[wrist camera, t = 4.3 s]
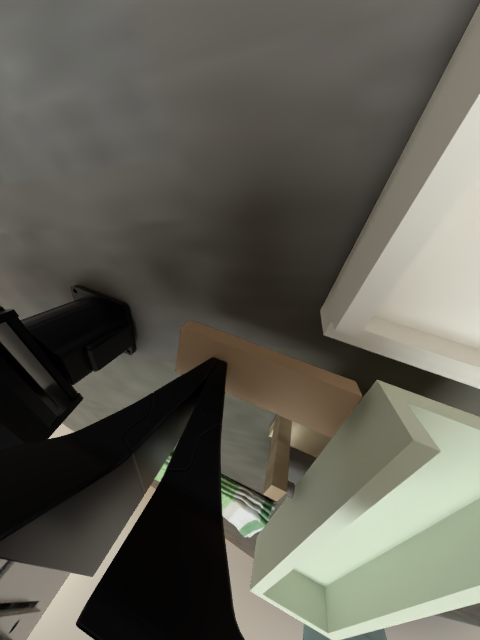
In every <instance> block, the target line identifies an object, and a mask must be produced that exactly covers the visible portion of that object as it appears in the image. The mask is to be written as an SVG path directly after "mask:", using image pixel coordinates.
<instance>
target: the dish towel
mask: <svg viewBox="0 0 480 640" xmlns="http://www.w3.org/2000/svg"><path fill="white" fill-rule="evenodd" d="M174 451H175V450H174V449H173V450H172V452H171V454H170V455H169V457H168V458H167V460H166V462H165V463H164V465H163V466H162V468H161V469H160V471H159V473H158V474H157V476H156V477H155V480H158V481H159V482H160V481H161V479H162V477H163V475H164V473H165V471H166V468H167V466H168V464H169V462H170V459H171V457H172V455H173V453H174ZM221 491H222V515H223V517H225V518H226V519H227V520H228V521H229V522H231V523H232V524H233V525H235V526H236V527H237V529H238V530H239V532H240V533H241V534H242V535H243V536H244V537H247V536H248V537H251V536H252V535H254V534H255V533H257V532H259V531H261V530H262V529H263V528H264V527H265V525H266V524H267V523H268V522H269V516H270V514H272V510H275V506H274V504H275V503H274V502H272V501H270V500H268V499H266V498H264V497H262V496H261V495H259V494H257V493H255V492H254V491H252V490H250V489H248V488H246V487H244V486H242V485H240V484H239V483H237V482H235V481H233V480H231V479H229V478H227V477H225V476H223V475H221Z"/></svg>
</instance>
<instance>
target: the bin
mask: <svg viewBox="0 0 480 640" xmlns="http://www.w3.org/2000/svg"><path fill="white" fill-rule="evenodd" d="M320 314H321V321H322V328H323V335H324V336H327V337H330V338H333V339H336V340H339V341H342V342H345V343H348V344H351V345H354V346H356V347H359V348H362V349H365V350H368V351H371V352H374V353H377V354H380V355H383V356H385V357H388V358H391V359H394V360H397V361H400V362H403V363H406V364H409V365H412V366H414V367H417V368H420V369H423V370H426V371H429V372H432V373H435V374H438V375H441V376H444V377H446V378H449V379H452V380H455V381H458V382H461V383H464V384H467V385H470V386H473V387H475V388H478V389H480V4H479V6H478V7H477V9H476V11H475V13H474V15H473V17H472V19H471V21H470V23H469V25H468V27H467V29H466V31H465V33H464V34H463V36H462V38H461V40H460V42H459V44H458V46H457V48H456V50H455V52H454V54H453V56H452V58H451V59H450V61H449V63H448V65H447V67H446V69H445V71H444V73H443V75H442V77H441V79H440V81H439V83H438V85H437V86H436V88H435V90H434V92H433V94H432V96H431V98H430V100H429V102H428V104H427V106H426V108H425V110H424V111H423V113H422V115H421V117H420V119H419V121H418V123H417V125H416V127H415V129H414V131H413V133H412V135H411V137H410V138H409V140H408V142H407V144H406V146H405V148H404V150H403V152H402V154H401V156H400V158H399V160H398V162H397V163H396V165H395V167H394V169H393V171H392V173H391V175H390V177H389V179H388V181H387V183H386V185H385V187H384V189H383V190H382V192H381V194H380V196H379V198H378V200H377V202H376V204H375V206H374V208H373V210H372V212H371V214H370V215H369V217H368V219H367V221H366V223H365V225H364V227H363V229H362V231H361V233H360V235H359V237H358V239H357V241H356V242H355V244H354V246H353V248H352V250H351V252H350V254H349V256H348V258H347V260H346V262H345V264H344V266H343V267H342V269H341V271H340V273H339V275H338V277H337V279H336V281H335V283H334V285H333V287H332V289H331V291H330V293H329V294H328V296H327V298H326V300H325V302H324V304H323V306H322V308H321V310H320Z"/></svg>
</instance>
